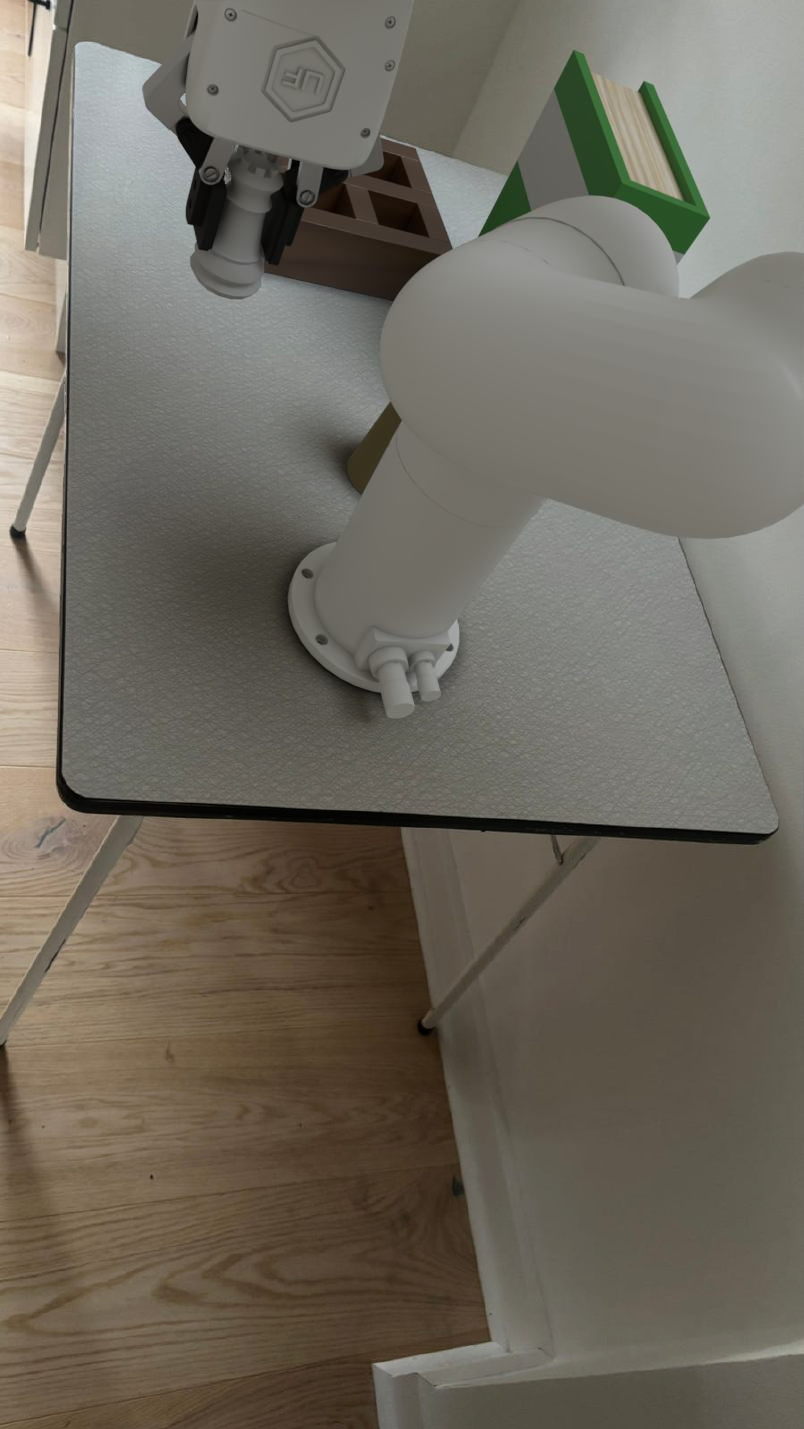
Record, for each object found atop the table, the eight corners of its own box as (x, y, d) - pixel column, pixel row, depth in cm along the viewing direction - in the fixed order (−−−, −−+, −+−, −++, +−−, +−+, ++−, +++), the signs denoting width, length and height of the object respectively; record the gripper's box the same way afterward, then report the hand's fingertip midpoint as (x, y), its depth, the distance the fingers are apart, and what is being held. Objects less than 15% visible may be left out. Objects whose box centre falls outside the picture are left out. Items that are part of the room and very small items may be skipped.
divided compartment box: (431, 309, 95) (457, 259, 90) (262, 271, 87) (281, 215, 83) (394, 199, 102) (415, 147, 98) (235, 155, 95) (251, 98, 91)
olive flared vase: (410, 519, 78) (473, 414, 70) (338, 485, 77) (394, 374, 69) (423, 470, 82) (485, 365, 73) (355, 438, 81) (410, 326, 72)
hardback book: (441, 307, 95) (573, 49, 77) (510, 329, 98) (653, 85, 80) (465, 440, 86) (622, 183, 68) (540, 459, 89) (710, 217, 71)
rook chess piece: (264, 272, 64) (303, 153, 58) (253, 313, 61) (293, 193, 55) (195, 243, 63) (228, 119, 56) (181, 284, 60) (213, 158, 54)
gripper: (169, -138, 41) (97, 256, 55) (515, -7, 48) (374, 310, 62) (146, -220, 44) (84, 171, 58) (472, -85, 51) (348, 232, 66)
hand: (235, 240), depth 60 cm, fingers closed on rook chess piece, 3 cm apart
